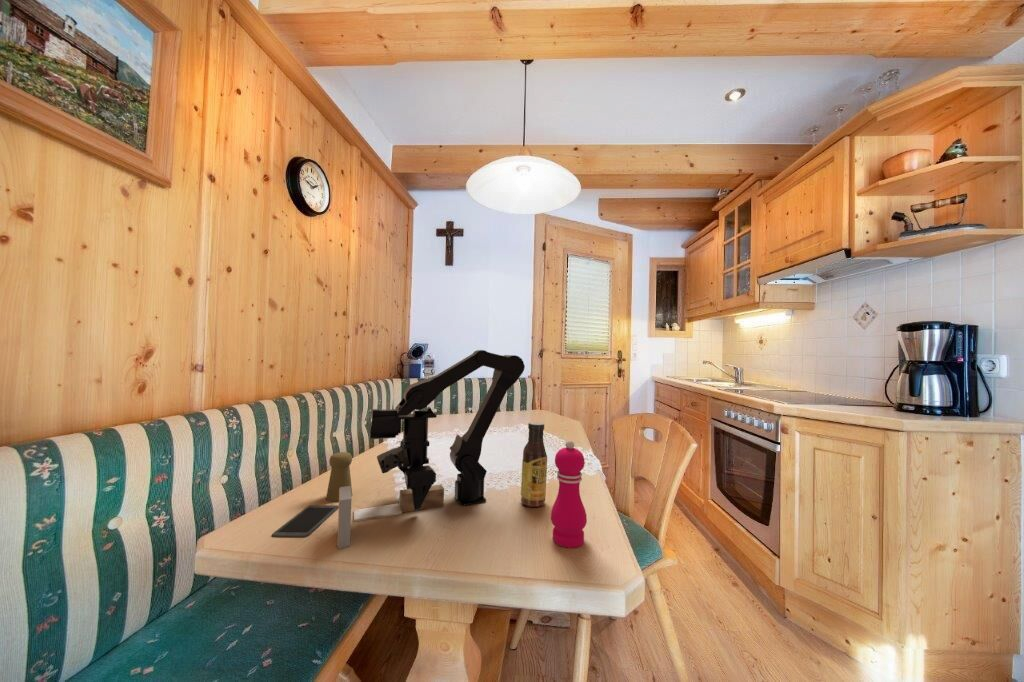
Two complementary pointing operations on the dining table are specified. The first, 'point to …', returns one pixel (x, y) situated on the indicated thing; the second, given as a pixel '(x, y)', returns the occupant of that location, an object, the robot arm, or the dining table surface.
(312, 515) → the cell phone
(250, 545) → the dining table surface
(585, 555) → the dining table surface
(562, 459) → the pepper mill
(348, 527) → the tile
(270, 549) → the dining table surface
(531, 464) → the sauce bottle
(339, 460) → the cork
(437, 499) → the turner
